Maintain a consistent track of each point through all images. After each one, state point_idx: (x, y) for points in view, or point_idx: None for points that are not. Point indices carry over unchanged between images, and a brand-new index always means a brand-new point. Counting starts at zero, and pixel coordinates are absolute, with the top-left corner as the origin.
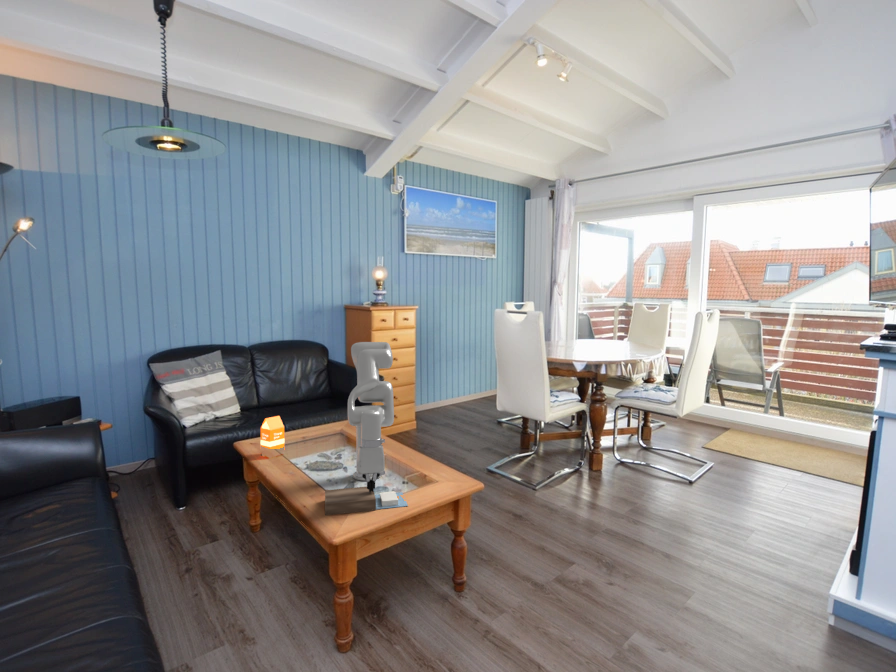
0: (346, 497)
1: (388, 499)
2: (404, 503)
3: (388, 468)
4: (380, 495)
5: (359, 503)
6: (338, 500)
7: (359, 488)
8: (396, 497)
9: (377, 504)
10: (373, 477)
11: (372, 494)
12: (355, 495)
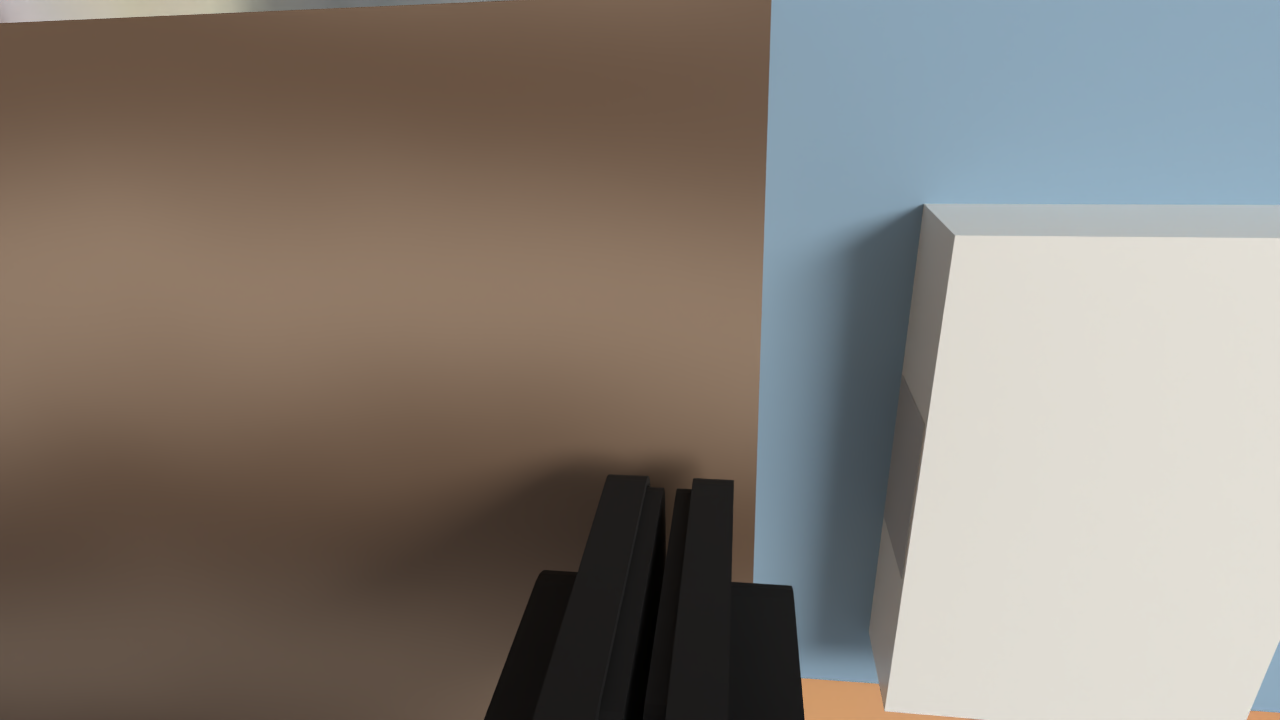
0: (149, 624)
1: (1038, 672)
2: None
3: None
4: (927, 400)
5: None
6: (44, 705)
7: (342, 142)
8: (1260, 630)
9: (802, 535)
10: None
11: None
12: (314, 586)
